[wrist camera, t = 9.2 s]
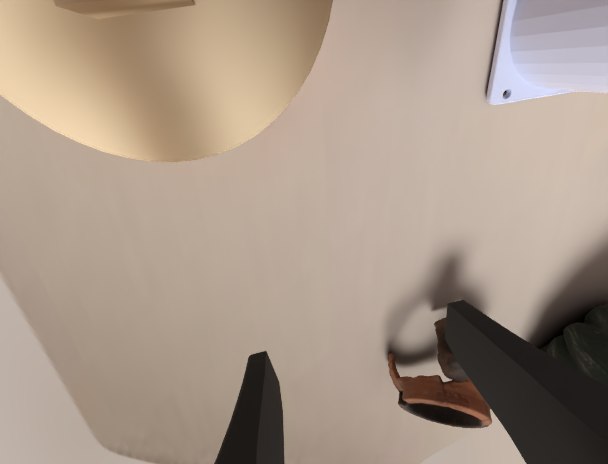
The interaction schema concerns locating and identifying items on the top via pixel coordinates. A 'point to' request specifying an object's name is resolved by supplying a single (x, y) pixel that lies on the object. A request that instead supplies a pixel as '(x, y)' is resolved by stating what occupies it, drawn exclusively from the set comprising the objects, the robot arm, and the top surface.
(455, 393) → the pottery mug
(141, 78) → the lid
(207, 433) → the top surface
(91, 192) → the top surface
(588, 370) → the squash
